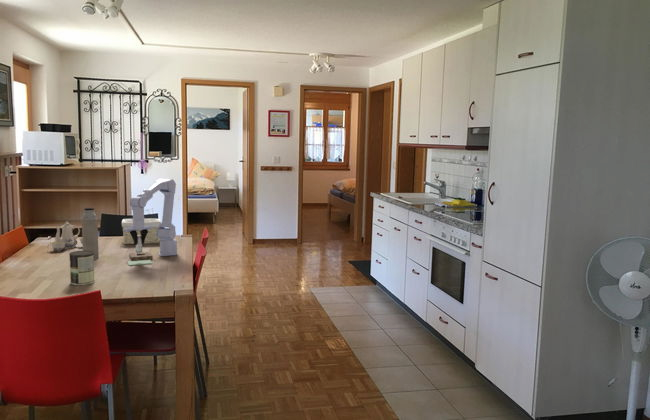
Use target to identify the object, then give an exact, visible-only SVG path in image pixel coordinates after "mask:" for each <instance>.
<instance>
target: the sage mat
mask: <svg viewBox="0 0 650 420" xmlns="http://www.w3.org/2000/svg"><path fill="white" fill-rule="evenodd" d="M126 263H127V265H128V267H132V266H134V267H135V266H145V265H153V262H152V260H137V261H131V260H128V261H127V260H126Z"/></svg>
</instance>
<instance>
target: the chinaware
mask: <svg viewBox="0 0 650 420" xmlns="http://www.w3.org/2000/svg"><path fill="white" fill-rule="evenodd" d="M55 228H56V234H55V240H54V241H51V242H49V244H48V245H47V249H48V250H50V251H51V250H52V251H55V252H58V251H59V252H62V251H61V250H63V248H65V250H66V249H67V250H68V248H70V249H75V248H76V246H77V245H78V240H77V239H78V237H79V235H80V232H81V229H80V227H79V226H77V225H72V224H71V223H69V221H67V220H66V221H65V223H64V224H62V225H61V229H60V227H59V226H56V227H55ZM75 228H77V229H78V232H77V234H75V235H74V233H73V230H75ZM61 230H62V231H61ZM60 235H61V236H60ZM79 241H80V243H81V245H82V246H83V241H82V238H81V237H80V238H79ZM49 246H51V247H52V248H49ZM74 247H75V248H74Z"/></svg>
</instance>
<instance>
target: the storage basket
mask: <svg viewBox="0 0 650 420" xmlns="http://www.w3.org/2000/svg"><path fill="white" fill-rule="evenodd" d="M161 223H162V218H154V217H153V218H152V217H151V218H144V226H153V230H147V231H148V233H147V235H146V238H145V241H144V244H143V245H145V244H146V245H148V244H160V240H159V238H158V237H157V235H156V232H157V229H158V225H159V224H161ZM129 227H133V218H123V219H122V220H121V228H122V236H123V244H124V245H135V244H134V241H133V238H132V236H131V234H130V232H125V228H129ZM139 230H140V229H139ZM136 232H137V235H141V233H140V231H136Z"/></svg>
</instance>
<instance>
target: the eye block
mask: <svg viewBox="0 0 650 420" xmlns="http://www.w3.org/2000/svg"><path fill="white" fill-rule="evenodd" d="M128 256H129V261H137V260H151V261H153V260H154V259H153V254H152V253H151V252H150V251H146V252H145V251H144V252H143V251H142V253H136V252H131V253H130V252H129V255H128Z"/></svg>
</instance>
